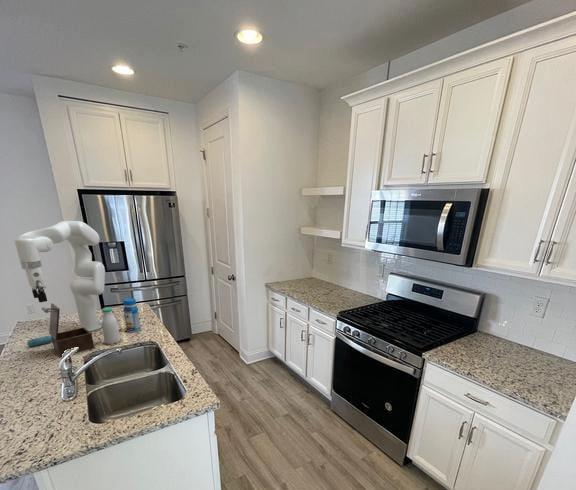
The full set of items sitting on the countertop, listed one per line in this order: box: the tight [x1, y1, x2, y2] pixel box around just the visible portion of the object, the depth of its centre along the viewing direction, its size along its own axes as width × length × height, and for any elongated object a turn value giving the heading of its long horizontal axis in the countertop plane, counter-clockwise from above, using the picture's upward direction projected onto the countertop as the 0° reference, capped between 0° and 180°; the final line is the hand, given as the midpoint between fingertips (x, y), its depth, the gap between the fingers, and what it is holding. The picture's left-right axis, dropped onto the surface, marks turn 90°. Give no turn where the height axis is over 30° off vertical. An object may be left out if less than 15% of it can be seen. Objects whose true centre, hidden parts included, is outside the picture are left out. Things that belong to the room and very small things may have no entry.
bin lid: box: [41, 302, 61, 341], centre depth 156 cm, size 16×13×5 cm
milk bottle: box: [101, 307, 121, 345], centre depth 174 cm, size 8×8×20 cm
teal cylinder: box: [27, 335, 52, 348], centre depth 171 cm, size 11×4×4 cm, turn 138°
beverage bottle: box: [122, 297, 142, 333], centre depth 192 cm, size 8×8×20 cm
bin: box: [50, 327, 95, 358], centre depth 166 cm, size 16×13×9 cm
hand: (40, 299), depth 152 cm, fingers open, 9 cm apart
